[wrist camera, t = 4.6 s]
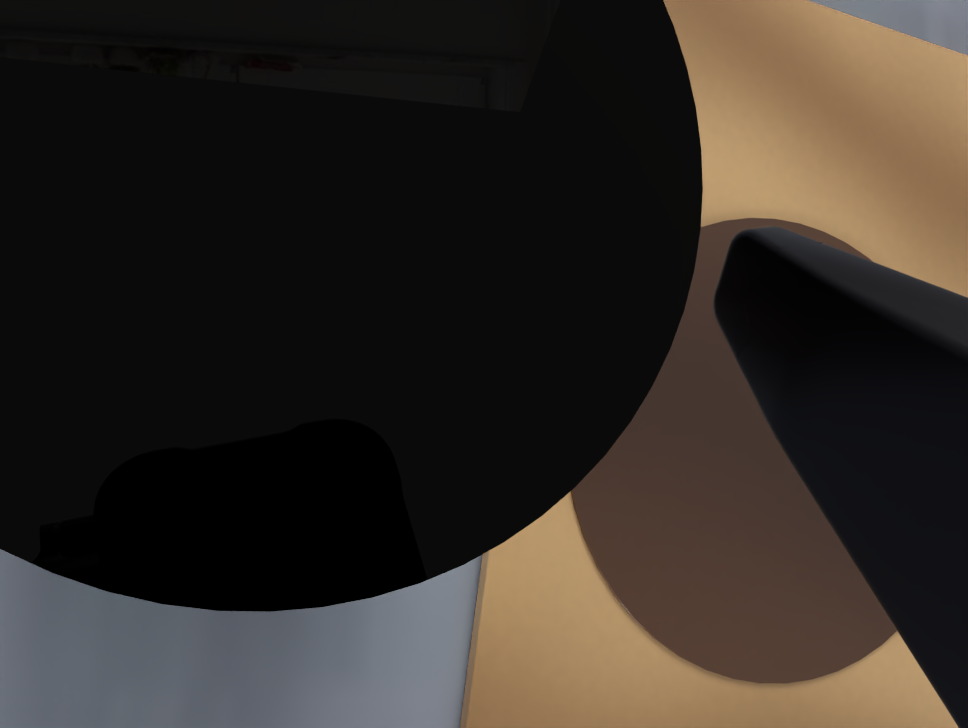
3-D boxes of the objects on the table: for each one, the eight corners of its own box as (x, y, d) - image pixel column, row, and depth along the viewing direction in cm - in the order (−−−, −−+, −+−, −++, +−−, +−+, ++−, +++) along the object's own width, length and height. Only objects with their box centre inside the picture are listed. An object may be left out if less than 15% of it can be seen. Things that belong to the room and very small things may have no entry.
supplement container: (135, 72, 16) (79, -519, 7) (464, 260, 18) (815, 15, 8) (-78, 412, 15) (-575, 311, 5) (303, 586, 16) (498, 769, 7)
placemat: (962, 948, 20) (981, 959, 19) (428, 956, 16) (435, 970, 16) (1008, 79, 23) (1024, 72, 23) (564, -71, 19) (573, -84, 19)
